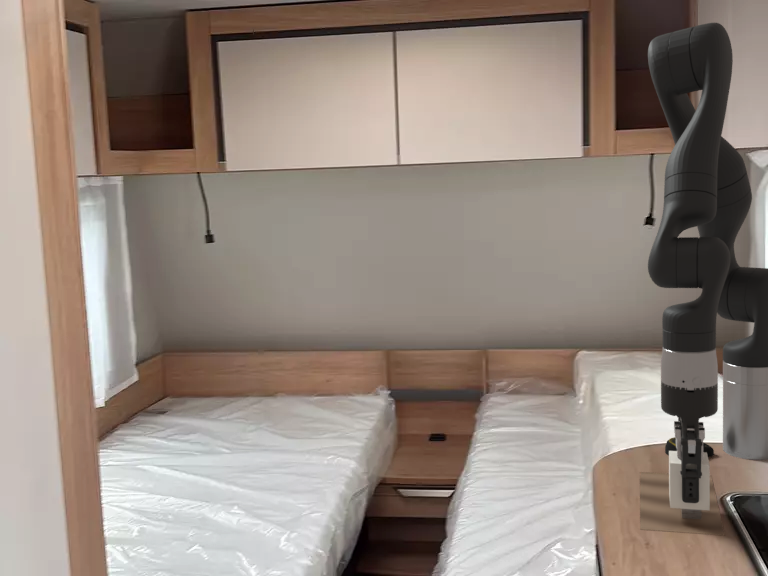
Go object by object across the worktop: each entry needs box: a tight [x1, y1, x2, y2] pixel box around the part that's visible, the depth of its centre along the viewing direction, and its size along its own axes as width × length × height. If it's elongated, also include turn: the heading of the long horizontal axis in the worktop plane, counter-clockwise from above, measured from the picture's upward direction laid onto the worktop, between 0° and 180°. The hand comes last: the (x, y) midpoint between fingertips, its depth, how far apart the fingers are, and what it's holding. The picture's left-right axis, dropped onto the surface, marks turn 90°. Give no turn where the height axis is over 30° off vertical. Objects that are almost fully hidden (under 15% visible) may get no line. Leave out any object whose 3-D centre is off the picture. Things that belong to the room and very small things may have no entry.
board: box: [639, 471, 726, 536], centre depth 125 cm, size 22×11×2 cm, turn 163°
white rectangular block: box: [668, 451, 711, 510], centre depth 119 cm, size 5×5×7 cm
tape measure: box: [664, 436, 715, 458], centre depth 144 cm, size 7×7×4 cm
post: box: [681, 509, 701, 519], centre depth 119 cm, size 3×3×6 cm
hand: (689, 493), depth 119 cm, fingers closed on white rectangular block, 5 cm apart
